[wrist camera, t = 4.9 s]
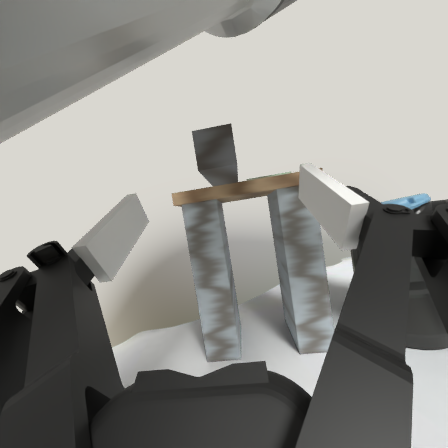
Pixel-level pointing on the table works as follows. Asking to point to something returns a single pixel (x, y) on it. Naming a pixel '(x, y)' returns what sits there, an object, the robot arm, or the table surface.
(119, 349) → the table surface
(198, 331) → the table surface
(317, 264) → the bench
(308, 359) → the table surface
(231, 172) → the dark grey bar
